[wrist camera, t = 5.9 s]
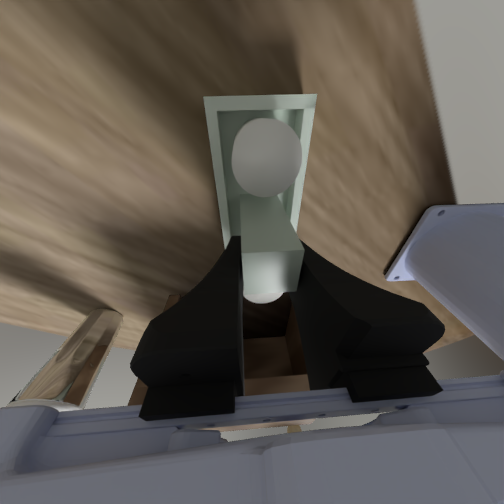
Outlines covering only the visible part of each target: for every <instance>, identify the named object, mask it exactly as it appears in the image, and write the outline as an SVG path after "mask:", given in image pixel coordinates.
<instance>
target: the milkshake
mask: <svg viewBox="0 0 504 504" xmlns="http://www.w3.org/2000/svg"><path fill="white" fill-rule="evenodd" d="M122 324H123V316H122V315H120V314H119V313H118V312H116V311H113V310H110V309H106V308H104V309H95V310H93V311H92V312H90V313H89V314H88V315H87V317H86V318H85V319H84V320H83V321H82V322H81V323H80V325H79V326H78V327H77V328H76V329H75V330H74V331H73V333H72V334H71V335H70V336H69V337H68V339H66V341H65V342H64V343H63V344H62V345H61V346H60V347H59V349H58V350H57V351H56V352H55V353H54V354H53V355H52V357H51V358H50V359H49V360H48V361H47V362H46V363H45V364H44V365H43V367H42V368H41V369H40V370H39V371H38V372H37V373H36V374H35V375H34V377H32V379H31V380H30V381H29V382H28V383H27V384H26V385H25V386H24V387H23V388H22V389H21V390H20V392H19V393H18V394H17V395H16V396H15V397H14V398H13V399H12V401H10V403H9V404H8V405H7V406H6V407H14V406H27V405H45V406H50V407H53V408H55V409H57V410H58V411H59V412H60V411H72V410H84V408H85V405H86V403H87V401H88V398H89V396H90V394H91V391H92V389H93V387H94V385H95V382H96V380H97V378H98V375H99V373H100V371H101V369H102V367H103V365H104V362H105V361H106V358H107V356H108V354H109V352H110V350H111V348H112V346H113V343H114V341H115V339H116V337H117V335H118V333H119V330H120V328H121V326H122Z"/></svg>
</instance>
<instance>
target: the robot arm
mask: <svg viewBox="0 0 504 504" xmlns="http://www.w3.org/2000/svg"><path fill="white" fill-rule="evenodd" d="M299 240H300V239H299ZM300 242H301V244H302V246H303V248H304V255H303V260H302V265H301V271H300V276H299V281H298V286H297V291H295V292H289V295H290V298H291V301H292V304H293V307H294V311H295V315H296V319H297V324H298V328H299V333H300V338H301V343H302V348H303V353H304V358H305V364H306V370H307V376H308V381H309V388H310V391H300V392H288V393H276V394H264V395H252V396H245V384H244V355H243V323H242V306H243V290H244V281H243V267H242V253H241V235H240V236H232V237H231V238H230V241H229V243H228V245H227V247H226V249H225V250H224V252H223V254H222V255H221V257H220V258H219V260H218V261H217V263H216V264H215V265H214V267H213V268H212V269H211V270H210V272H209V273H208V274H207V275H206V276H205V277H204V279H203V280H202V281H201V282H200V283H199V284H198V285H197V286H196V287H195V288H194V289H192V290H191V291H190V292H189V293H188V294H187V295H185V296H184V297H183V298H182V299H181V300H180V301H178V302H177V303H176V304H174V305H173V306H172V307H170V308H169V309H167V310H166V311H164V312H163V313H162V314H160V315H159V316H157V317H156V318H154V319H153V320H151V321H150V323H149V325H148V327H147V328H146V330H145V332H144V334H143V336H142V338H141V340H140V342H139V344H138V347H137V349H136V351H135V354H134V356H133V358H132V360H131V363H130V368H131V370H132V372H133V373H134V374H135V376H137V377H138V378H139V379H140V380H141V381H142V382H143V383H144V384H145V385H146V386H147V387H148V389H147V392H146V395H145V398H144V401H143V404H142V405H132V406H120V407H109V408H96V409H84V410H72V411H60V412H59V411H58V410H57V409H55V408H53V407H50V406H45V405H27V406H14V407H2V408H0V504H504V370H503V371H501V372H500V375H492V376H480V377H468V378H456V379H444V380H436V379H435V378H434V377H433V375H432V374H431V373H430V371H429V370H428V369H427V367H426V366H427V365H429V361H428V360H427V358H426V357H425V356H424V355H423V352H424V351H425V350H427V349H428V348H429V347H431V346H432V345H433V344H434V343H436V342H437V341H438V340H439V339H440V338H441V337H442V336H443V334H444V332H445V326H444V324H443V323H442V322H441V321H440V320H439V319H438V318H437V317H436V316H435V315H434V314H433V313H432V312H431V311H430V310H429V309H428V308H427V307H426V306H425V305H424V304H422V303H420V302H417V301H414V300H411V299H408V298H405V297H402V296H400V295H397V294H394V293H391V292H389V291H386V290H384V289H381V288H379V287H376V286H374V285H372V284H370V283H367V282H365V281H363V280H361V279H359V278H357V277H355V276H353V275H351V274H349V273H347V272H345V271H344V270H342V269H340V268H339V267H337V266H335V265H334V264H332V263H330V262H329V261H327V260H326V259H325V258H323V257H322V256H320V255H319V254H318V253H316V252H315V251H314V250H312V249H311V248H310V247H309V246H307V245H306V244H305V243H304V242H303V241H301V240H300ZM385 279H386V280H387V281H404V280H416V281H417V282H419V283H420V284H421V285H422V286H423V287H424V288H425V289H426V290H427V291H428V292H429V293H431V294H432V295H433V296H434V297H435V298H436V299H437V300H438V301H439V302H440V303H441V304H443V305H444V306H445V307H446V308H447V309H448V310H449V311H450V312H451V313H452V314H453V315H454V316H456V317H457V318H458V319H459V320H460V321H461V322H462V323H463V324H464V325H465V326H466V327H468V328H469V329H470V330H471V331H472V332H473V333H474V334H475V335H476V336H477V337H478V338H480V339H481V340H482V341H483V342H484V343H485V344H486V345H487V346H488V347H489V348H490V349H492V350H493V351H494V352H495V353H496V354H497V355H498V356H499V357H500V358H501V359H502V360H503V361H504V203H491V204H463V205H435V206H431V207H429V208H428V209H427V210H426V211H425V213H424V214H423V216H422V217H421V219H420V221H419V222H418V224H417V225H416V227H415V229H414V230H413V232H412V233H411V235H410V237H409V238H408V240H407V241H406V243H405V245H404V246H403V248H402V249H401V251H400V253H399V254H398V256H397V257H396V259H395V261H394V262H393V264H392V265H391V267H390V269H389V270H388V272H387V273H386V275H385ZM392 411H393V412H392ZM381 412H389V413H384V414H380V415H379V416H378V417H377V418H376V419H375V420H373V421H371V422H369V423H367V424H364V425H362V426H353V427H340V428H331V429H319V430H310V431H302V432H293V433H286V434H279V435H272V436H264V437H258V438H251V439H245V440H238V441H232V442H228V441H227V440H226V439H223V438H220V437H221V436H220V435H221V433H220V431H219V430H203V429H206V428H217V427H228V426H239V425H250V424H261V423H272V422H283V421H294V420H305V419H316V418H326V417H337V416H348V415H359V414H370V413H381Z"/></svg>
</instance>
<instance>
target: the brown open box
mask: <svg viewBox="0 0 504 504" xmlns="http://www.w3.org/2000/svg"><path fill="white" fill-rule="evenodd" d="M180 300H181V297H180V295H170V296H169V298H168V301H167V304H166V306H165V309H164V311H166V310H167V309H169V308H170V307H172V306H173V305H174V304H176V303H177V302H178V301H180ZM164 311H163V312H164ZM243 355H244V384H245V396H252V395H264V394H276V393H288V392H300V391H310V388H309V381H308V376H307V370H306V364H305V358H304V353H303V348H302V343H301V338H300V333H299V328H298V324H297V319H296V315H295V311H294V307H293V304H292V305H291V310H290V315H289V320H288V325H287V329H286V334H285V337H270V338H255V339H243ZM147 389H148V387H147V386H146V385H145V384H144V383H143V382H142V381H141V380H140V379H139V378H138V380H137V382H136V385H135V387H134V390H133V393H132V395H131V398H130V400H129V403H128V406H132V405H142V404H143V401H144V398H145V395H146V392H147ZM314 420H315V419H305V420H294V421H283V422H272V423H261V424H250V425H239V426H228V427H217V428H206V429H203V430H219V431H220V432H224V431H234V430H247V429H258V428H269V427H280V426H292V425H303V424H312V422H313V421H314Z"/></svg>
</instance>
